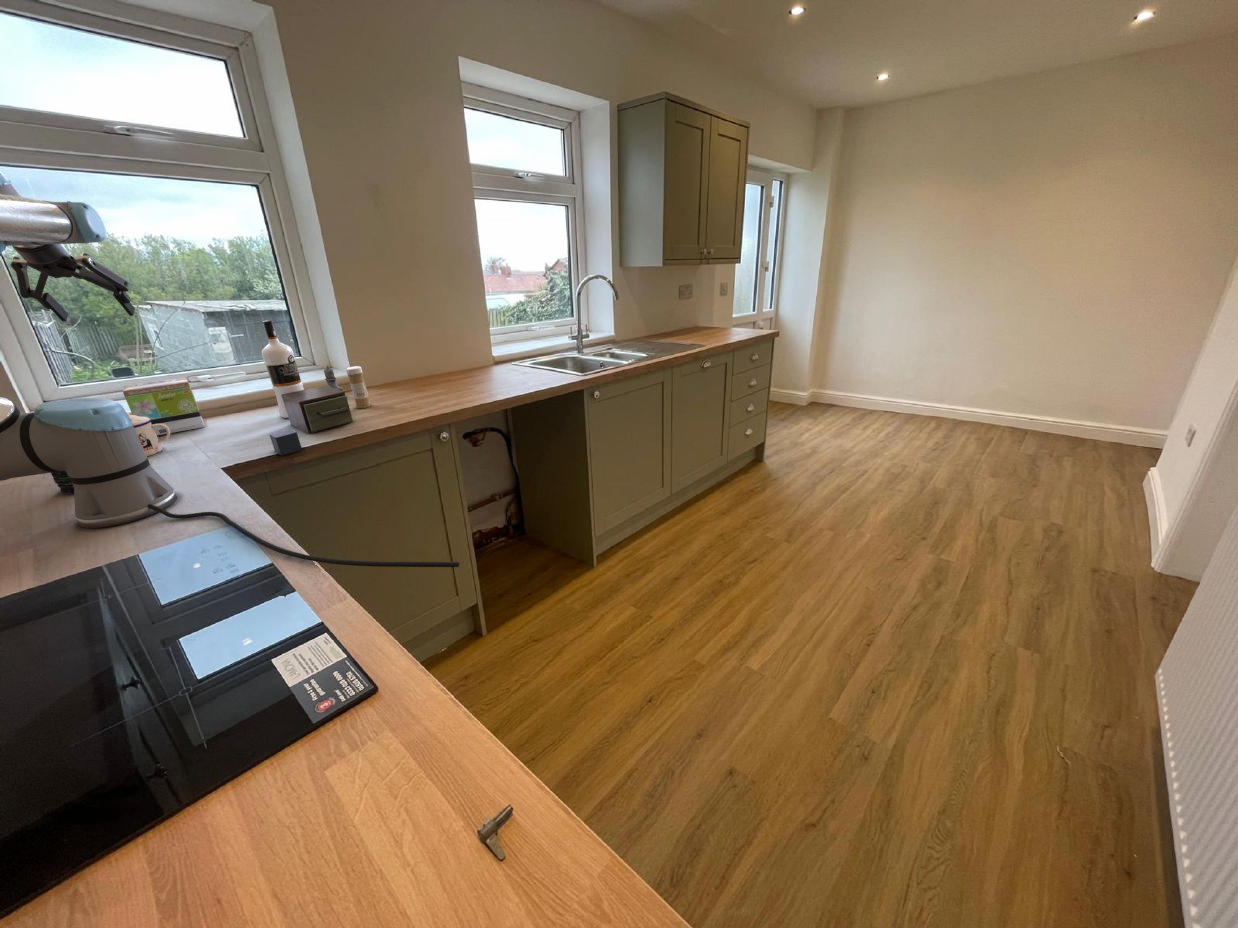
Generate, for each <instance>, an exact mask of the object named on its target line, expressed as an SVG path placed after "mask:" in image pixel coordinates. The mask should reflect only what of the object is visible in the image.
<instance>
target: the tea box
mask: <svg viewBox="0 0 1238 928" xmlns="http://www.w3.org/2000/svg"><path fill="white" fill-rule="evenodd" d="M122 393H123V396H124V399H125V401H126V403H127V405H128V408H129V410H130V414H131V415H136V416H140V417H148V418H150V419H151V424H152V425H153V424H164V425H166V426H168V428H169V429H170V434H173V433H174V434H175V433H177V432H185V431H189V430H196V429H203V428H205V423H204V420H203V417H202V414H201V411H200V408H199V405H198V402H197V401H196V398H195V395H194V392H193V390H192V388H191V385H190V383H189V380H188V378H187V377H186V376H185V377H177V378H171V379H163V380H162V379H161V380H154V381H149V382H141V383H135V384H134V383H133V384H127V385H126V384H125V385H123V390H122ZM153 429H154V431H155V433H156V435H157V436H163V435H167V431H166V429H165V428H163V427H153Z"/></svg>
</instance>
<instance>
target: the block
mask: <svg viewBox="0 0 1238 928" xmlns="http://www.w3.org/2000/svg"><path fill="white" fill-rule="evenodd" d="M269 439H270V441H271V444H272V447H273V450H274V452H275V453H276V454H277V455H279V456H281V457H282V456H285V455H290V454H292V453H296V452H300V451H302V450H303V448H302V445H301V441H300V438H299V435H298V432H297V431H295V430H293V429H291V428H288V429H283V430H280V431H276V432H272V433H269Z"/></svg>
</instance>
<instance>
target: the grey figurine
mask: <svg viewBox="0 0 1238 928" xmlns="http://www.w3.org/2000/svg"><path fill="white" fill-rule="evenodd" d="M323 374H324V377H325V378H324V380H325V381H326V386H329V387H332V388H335V389H338V390H341V391H343V387H342V386H339V385H338V382H337V377H336V376H335V372H334V370H333V368H330V367H329V366H328V365H326V368H325V369H324V370H323Z"/></svg>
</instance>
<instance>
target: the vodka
mask: <svg viewBox="0 0 1238 928" xmlns="http://www.w3.org/2000/svg"><path fill="white" fill-rule="evenodd" d="M262 324H263V327H264V331H265V334H266V337H267V341H268V344H266V345H265V346H264V348H262V349H261V357H262V359H263V363H264V365H265V367H266V369H267V374H268V375H269V378H270V381H271V385H272V387H271V388H272V389H273V393H274V395H275V398H276V401H277V408H278V410H277V411H278V414H279V416H280V417H281V418H284V419H289V417H288V414H287V411H286V408H285V405H284V402H283V399H282V396H281V394H286V393H291V392H296V391H301V390H305V388H304V385H303V384H304V382H303V381H302V378H301V374H300V372H299V369H298V366H297V361H296V358H295V353H294V350H293V349H292V347H291V346H290V345H288V344H286V343H283V342H280V340H279V338H278V334H277V331H276V329H275V324H274V321H273V320H270V319H268V320H263V321H262Z"/></svg>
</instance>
